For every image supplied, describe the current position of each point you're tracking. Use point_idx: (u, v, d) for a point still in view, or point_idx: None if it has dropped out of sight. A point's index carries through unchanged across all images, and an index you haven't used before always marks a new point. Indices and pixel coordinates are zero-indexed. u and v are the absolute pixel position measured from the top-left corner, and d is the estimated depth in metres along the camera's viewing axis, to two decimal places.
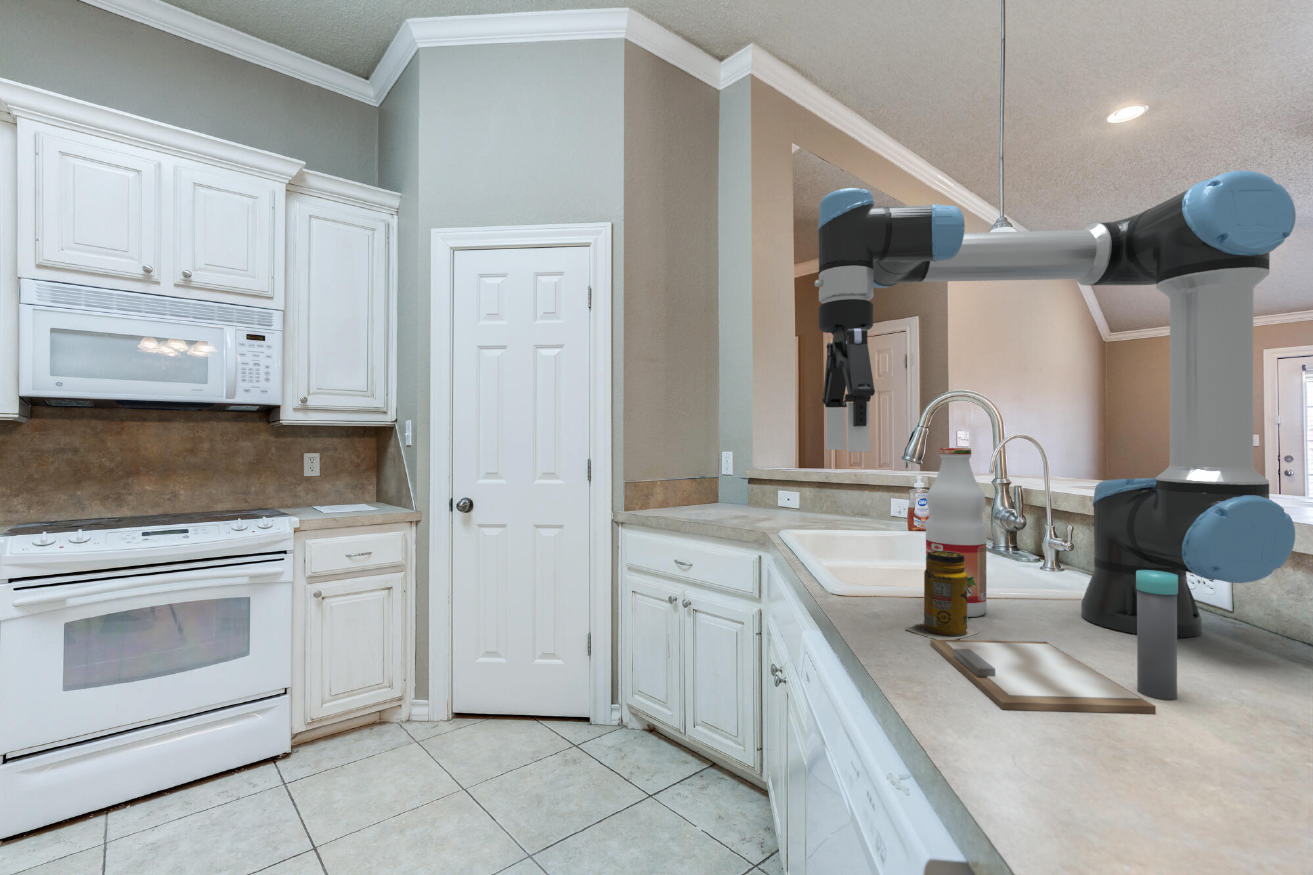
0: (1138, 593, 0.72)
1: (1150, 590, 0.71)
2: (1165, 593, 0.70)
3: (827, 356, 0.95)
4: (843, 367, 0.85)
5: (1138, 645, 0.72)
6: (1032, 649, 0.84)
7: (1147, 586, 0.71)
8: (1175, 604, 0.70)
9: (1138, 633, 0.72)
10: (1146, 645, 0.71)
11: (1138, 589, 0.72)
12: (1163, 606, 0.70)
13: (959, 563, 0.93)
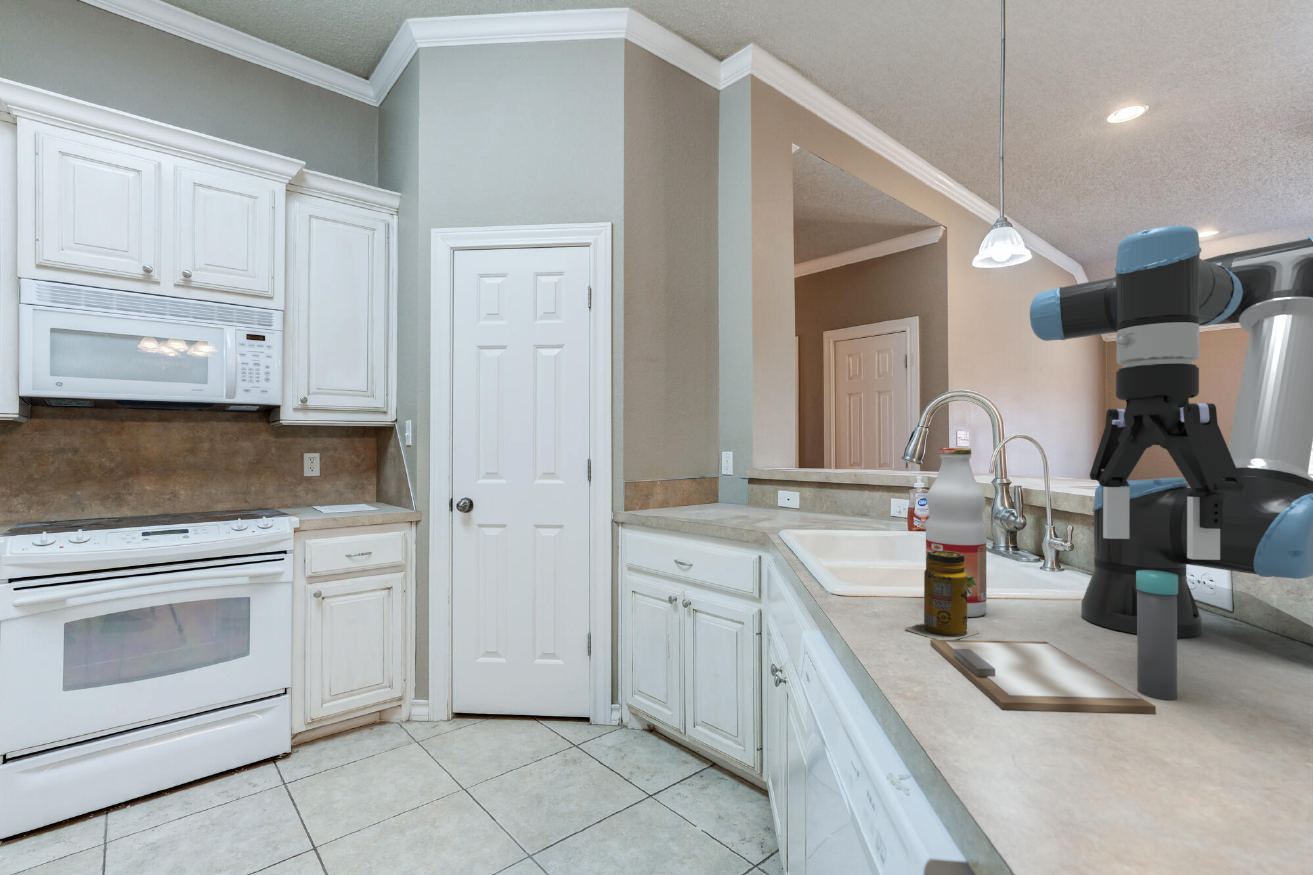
0: (1138, 593, 0.72)
1: (1150, 590, 0.71)
2: (1165, 593, 0.70)
3: (1108, 425, 0.78)
4: (1171, 449, 0.68)
5: (1138, 645, 0.72)
6: (1032, 649, 0.84)
7: (1147, 586, 0.71)
8: (1175, 604, 0.70)
9: (1138, 633, 0.72)
10: (1146, 645, 0.71)
11: (1138, 589, 0.72)
12: (1163, 606, 0.70)
13: (959, 563, 0.93)
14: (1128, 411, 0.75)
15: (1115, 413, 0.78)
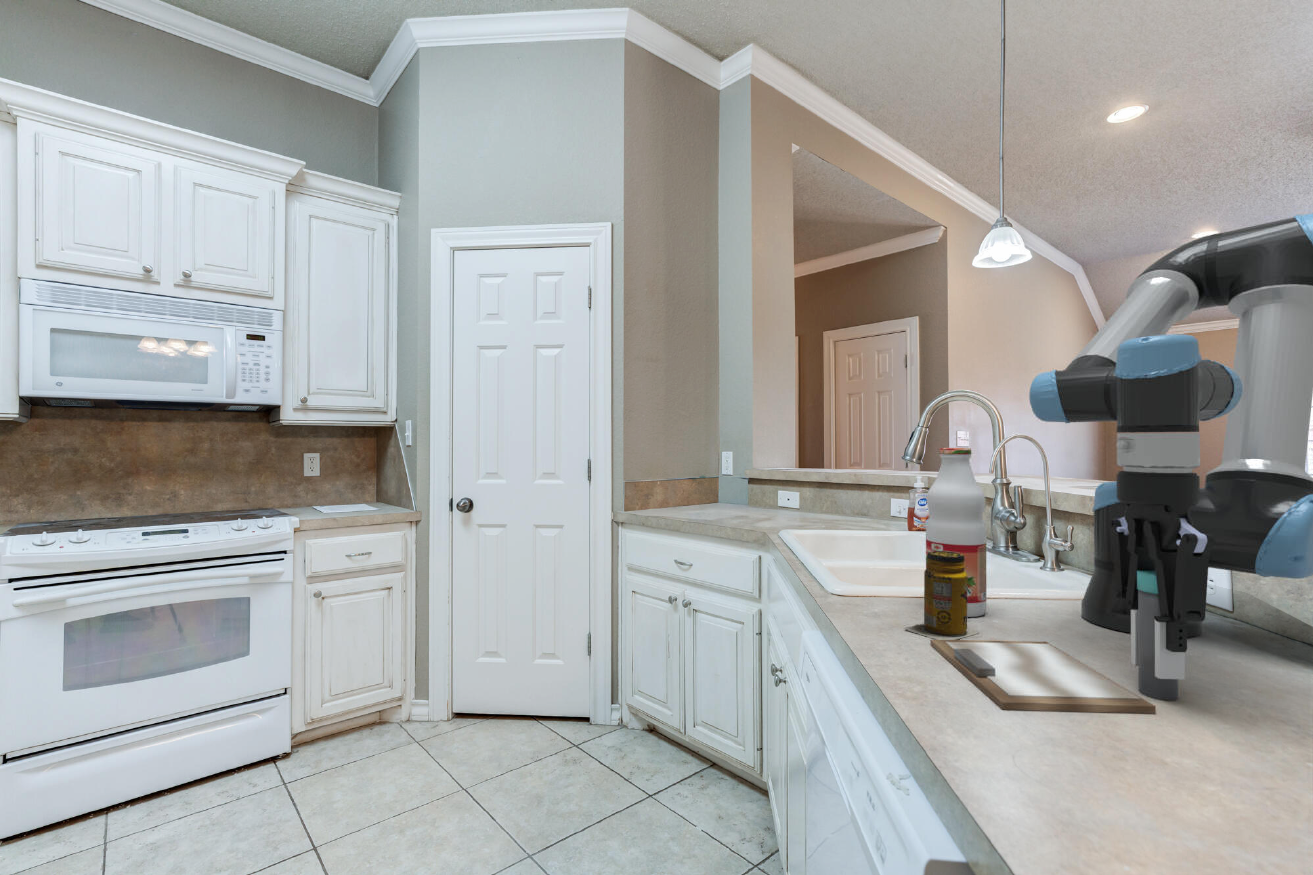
0: (1139, 593, 0.72)
1: (1151, 590, 0.71)
2: None
3: (1114, 534, 0.77)
4: (1157, 564, 0.70)
5: (1139, 645, 0.72)
6: (1032, 649, 0.84)
7: (1148, 586, 0.71)
8: None
9: (1139, 633, 0.72)
10: (1147, 645, 0.71)
11: (1139, 589, 0.72)
12: None
13: (959, 563, 0.93)
14: (1127, 511, 0.75)
15: (1117, 521, 0.77)
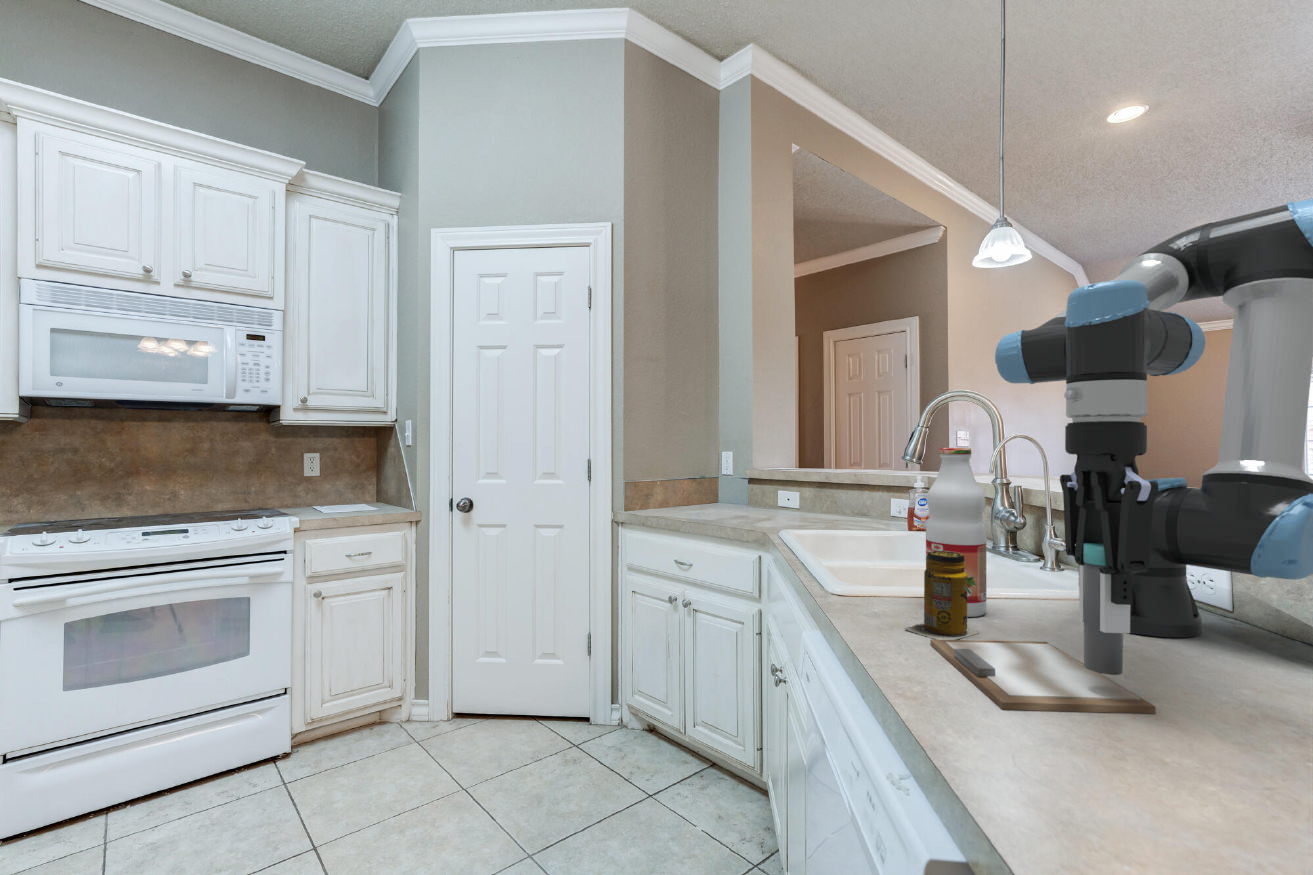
0: (1085, 566, 0.71)
1: (1096, 562, 0.69)
2: None
3: (1065, 490, 0.76)
4: (1103, 515, 0.69)
5: (1084, 619, 0.71)
6: (1032, 649, 0.84)
7: (1093, 557, 0.69)
8: None
9: (1084, 607, 0.71)
10: (1092, 618, 0.70)
11: (1085, 562, 0.71)
12: None
13: (959, 563, 0.93)
14: (1077, 465, 0.74)
15: (1067, 477, 0.76)
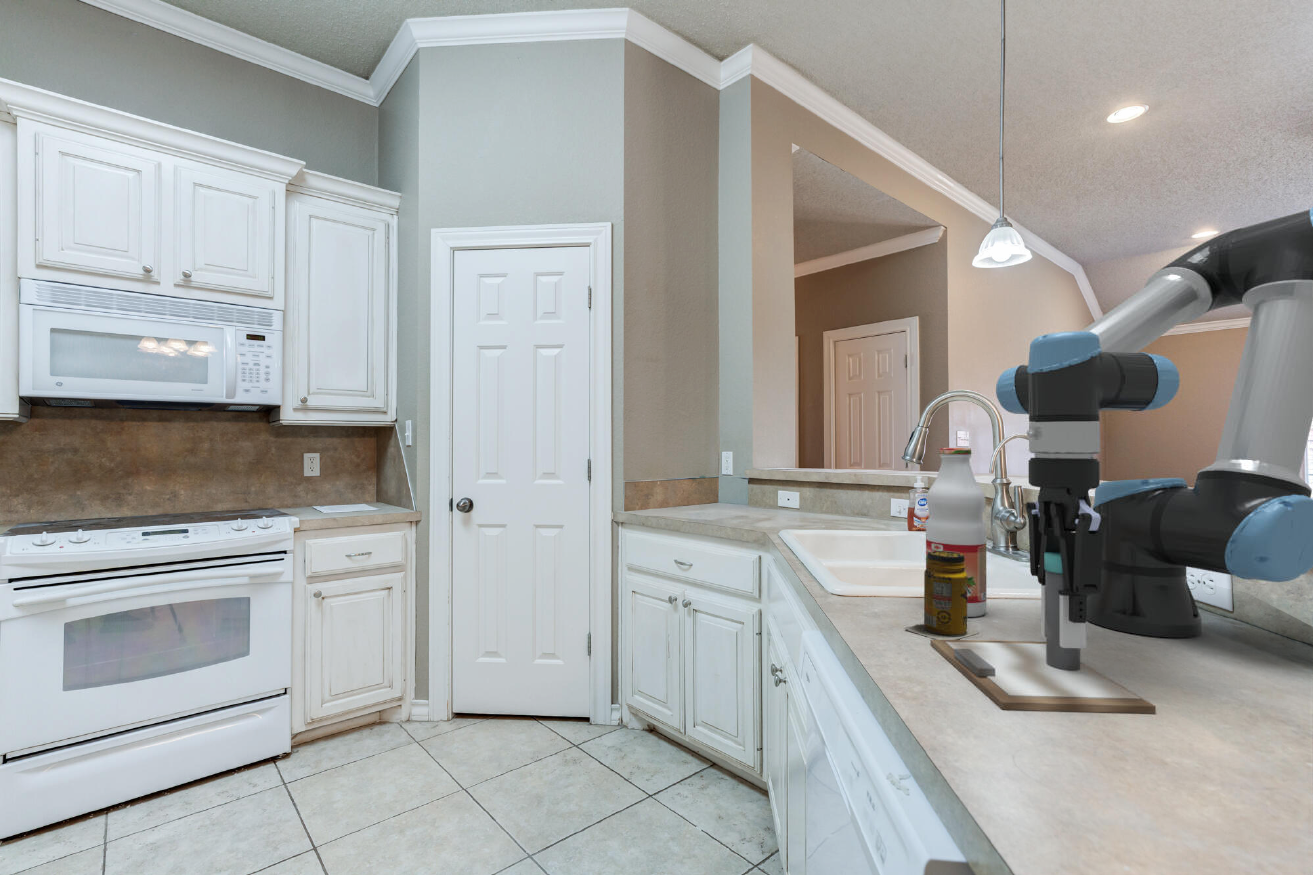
0: (1045, 573, 0.79)
1: (1054, 570, 0.77)
2: None
3: (1030, 517, 0.84)
4: (1061, 542, 0.76)
5: (1046, 621, 0.79)
6: (1032, 649, 0.84)
7: (1052, 566, 0.77)
8: None
9: (1046, 610, 0.79)
10: (1052, 620, 0.77)
11: (1045, 569, 0.79)
12: None
13: (959, 563, 0.93)
14: (1039, 495, 0.81)
15: (1032, 504, 0.84)
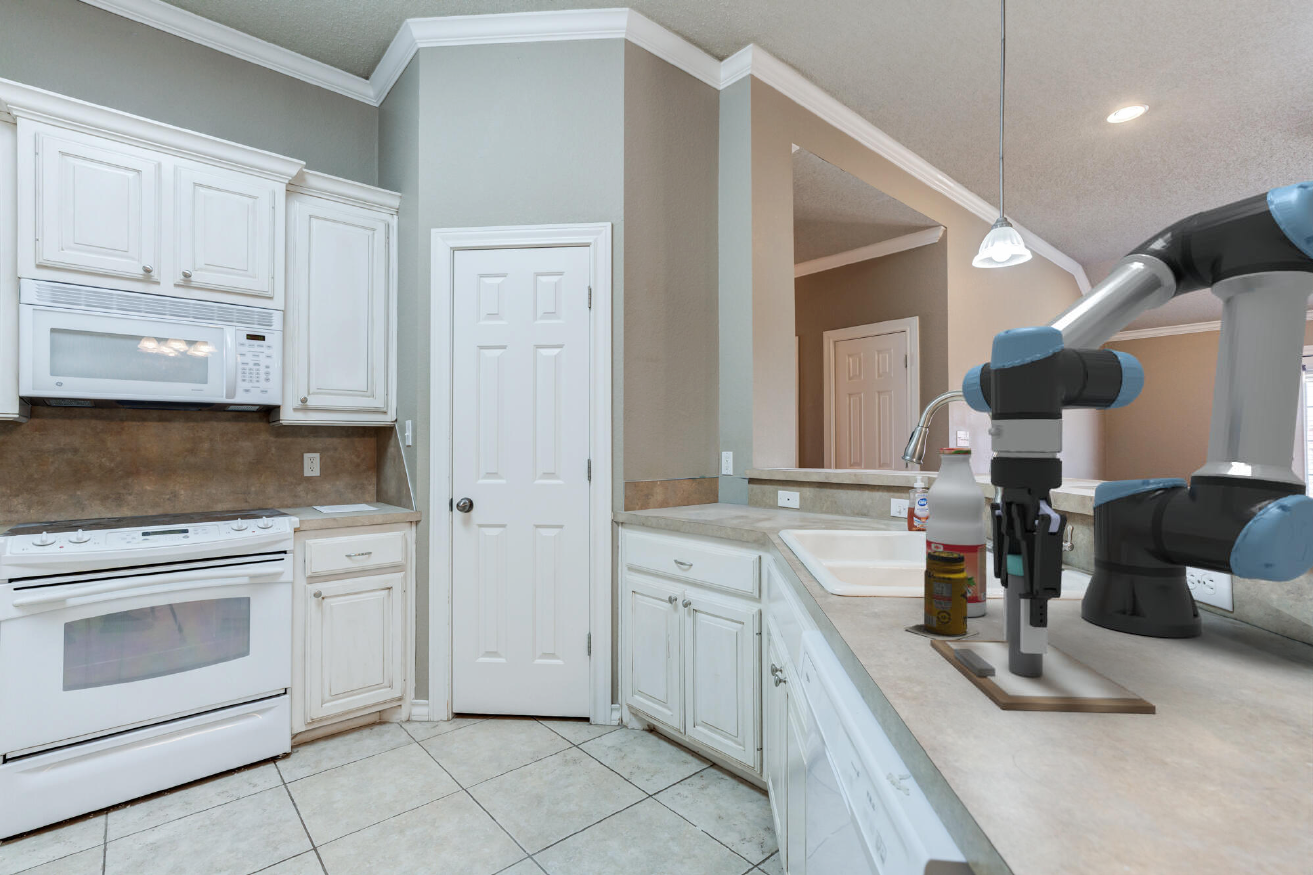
0: (1008, 575, 0.76)
1: (1015, 572, 0.75)
2: None
3: (994, 518, 0.81)
4: (1023, 544, 0.74)
5: (1008, 625, 0.76)
6: None
7: (1013, 568, 0.75)
8: None
9: (1008, 613, 0.76)
10: (1013, 624, 0.75)
11: (1008, 572, 0.76)
12: None
13: (959, 563, 0.93)
14: (1003, 495, 0.79)
15: (996, 505, 0.81)
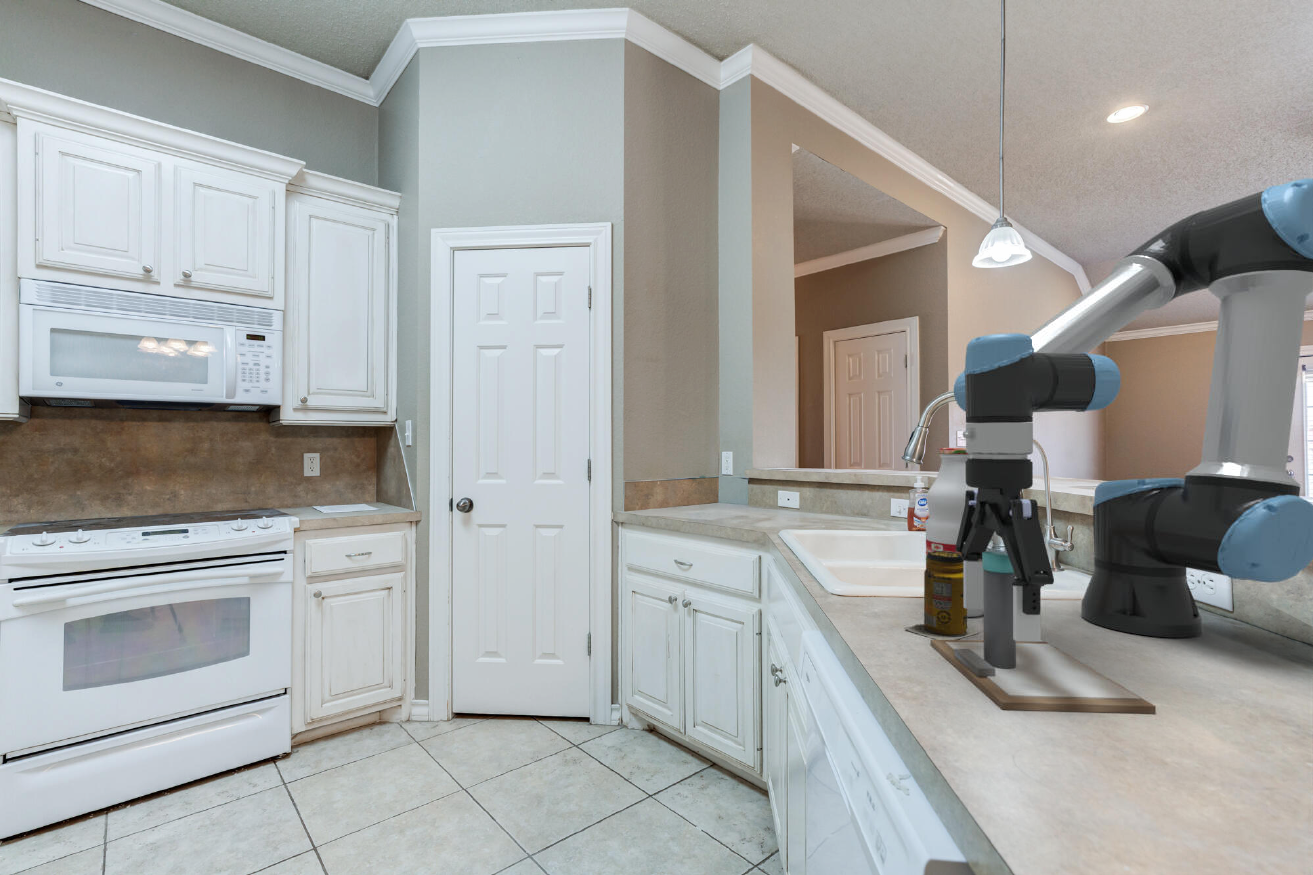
0: (983, 572, 0.79)
1: (990, 569, 0.78)
2: (1002, 571, 0.77)
3: (966, 504, 0.85)
4: (1003, 537, 0.75)
5: None
6: (1032, 649, 0.84)
7: (988, 564, 0.78)
8: (1012, 582, 0.77)
9: None
10: (987, 619, 0.78)
11: (983, 568, 0.79)
12: (1000, 583, 0.77)
13: (959, 563, 0.93)
14: (978, 495, 0.82)
15: (971, 494, 0.85)
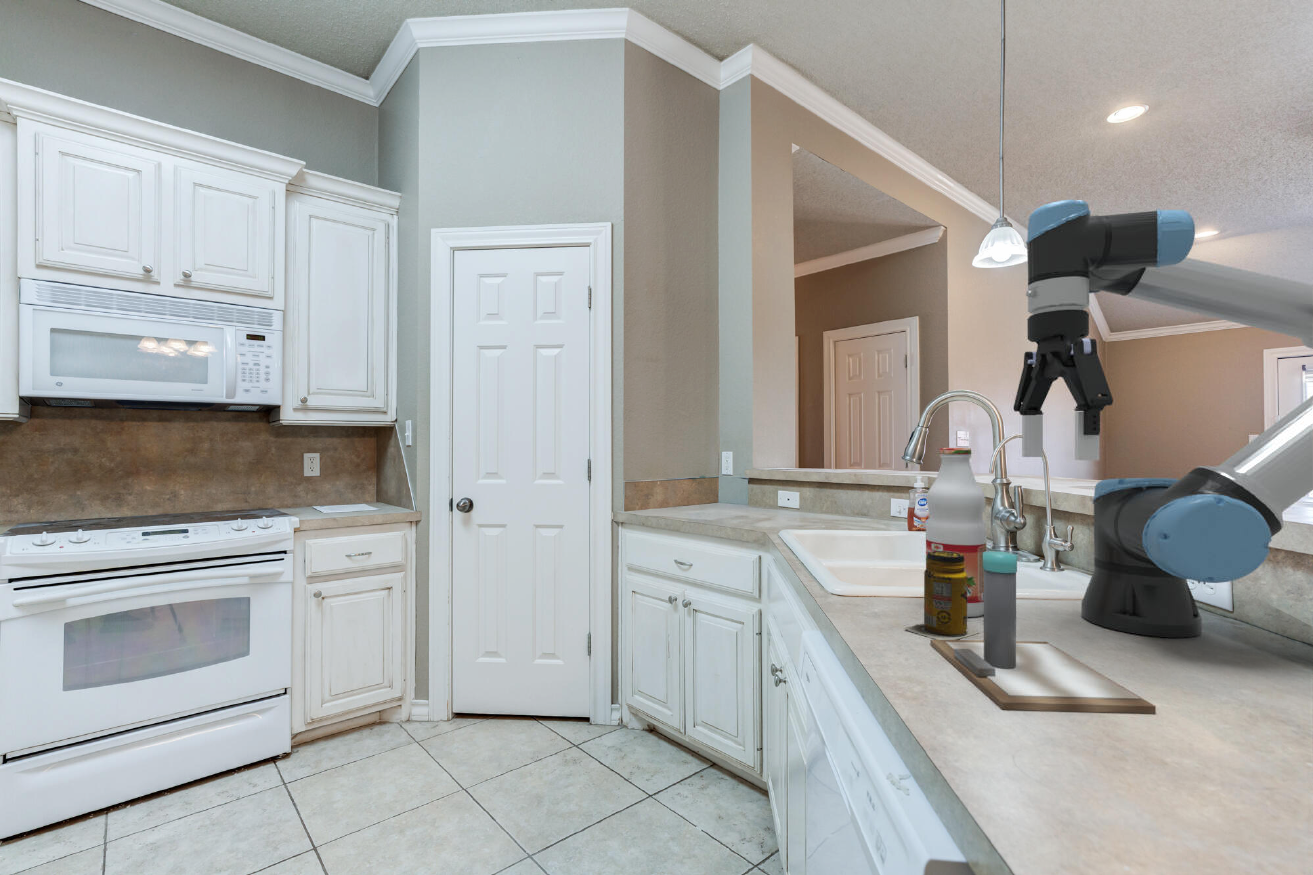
0: (984, 572, 0.79)
1: (990, 569, 0.78)
2: (1002, 571, 0.77)
3: (1025, 365, 0.96)
4: (1065, 376, 0.86)
5: None
6: (1032, 649, 0.84)
7: (988, 565, 0.78)
8: (1012, 582, 0.77)
9: None
10: (988, 619, 0.78)
11: (983, 568, 0.79)
12: (1000, 584, 0.77)
13: (959, 563, 0.93)
14: (1038, 351, 0.93)
15: (1030, 354, 0.96)
